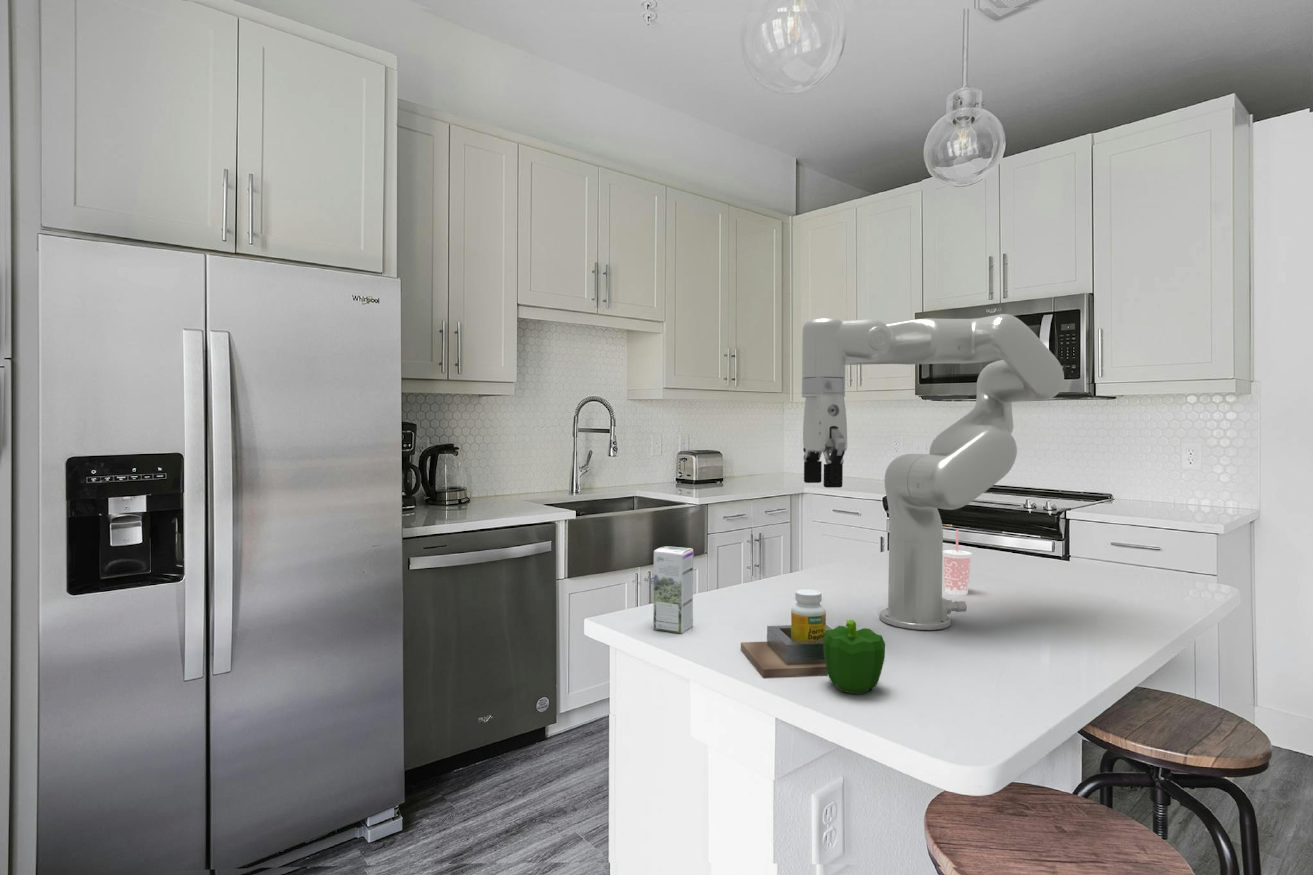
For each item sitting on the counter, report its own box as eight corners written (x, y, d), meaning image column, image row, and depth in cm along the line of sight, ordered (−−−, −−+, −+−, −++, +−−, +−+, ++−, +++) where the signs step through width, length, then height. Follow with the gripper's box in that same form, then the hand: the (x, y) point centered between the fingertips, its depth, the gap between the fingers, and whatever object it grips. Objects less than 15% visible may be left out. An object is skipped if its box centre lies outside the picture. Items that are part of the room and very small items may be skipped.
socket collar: (825, 642, 117) (825, 623, 117) (850, 662, 107) (850, 642, 107) (767, 644, 116) (767, 626, 116) (786, 664, 106) (786, 644, 106)
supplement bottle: (808, 645, 115) (808, 586, 115) (833, 654, 111) (833, 593, 111) (783, 651, 112) (784, 590, 112) (808, 660, 108) (809, 597, 108)
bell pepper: (844, 673, 106) (845, 606, 106) (894, 688, 100) (895, 617, 100) (809, 686, 101) (810, 616, 100) (860, 703, 94) (861, 628, 94)
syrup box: (693, 626, 130) (694, 547, 130) (681, 634, 125) (682, 552, 125) (665, 622, 133) (666, 544, 133) (652, 630, 127) (652, 549, 127)
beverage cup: (935, 590, 160) (936, 528, 160) (959, 588, 162) (960, 527, 161) (953, 596, 154) (954, 532, 154) (977, 595, 156) (978, 531, 156)
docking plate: (845, 645, 119) (845, 638, 119) (880, 672, 106) (880, 664, 106) (740, 649, 117) (740, 642, 117) (763, 677, 104) (763, 669, 104)
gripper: (864, 386, 119) (863, 489, 119) (825, 391, 136) (824, 481, 136) (821, 386, 118) (820, 489, 118) (787, 391, 135) (786, 481, 135)
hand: (822, 484), depth 127 cm, fingers open, 9 cm apart
